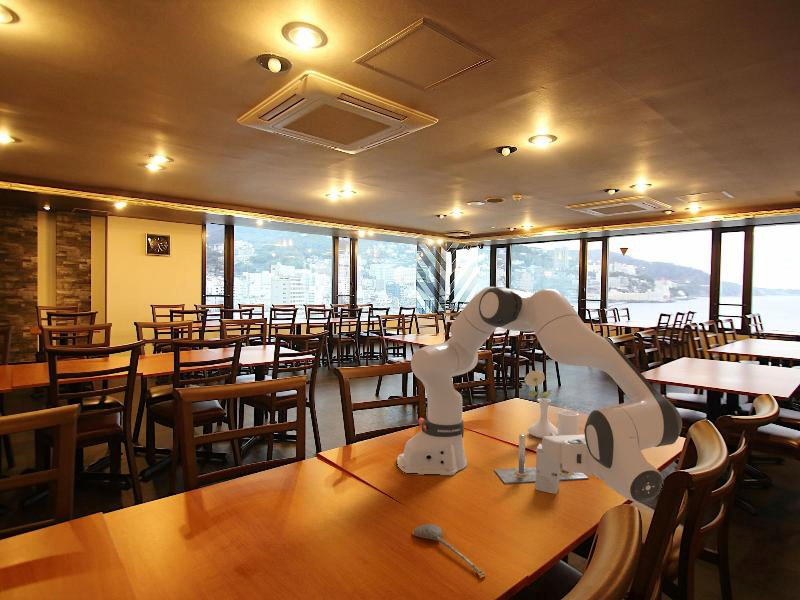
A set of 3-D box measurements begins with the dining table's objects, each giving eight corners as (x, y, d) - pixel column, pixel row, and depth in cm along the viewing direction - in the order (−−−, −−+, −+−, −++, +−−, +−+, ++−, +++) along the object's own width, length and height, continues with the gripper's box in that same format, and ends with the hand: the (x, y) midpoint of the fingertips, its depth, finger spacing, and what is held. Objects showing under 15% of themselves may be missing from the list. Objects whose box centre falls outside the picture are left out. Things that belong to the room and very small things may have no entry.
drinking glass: (574, 453, 153) (575, 409, 153) (580, 461, 147) (581, 416, 146) (554, 452, 154) (555, 409, 153) (559, 460, 147) (560, 415, 146)
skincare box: (534, 490, 127) (535, 447, 126) (537, 483, 131) (538, 442, 130) (557, 495, 124) (558, 452, 123) (560, 488, 128) (560, 446, 127)
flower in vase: (558, 432, 174) (559, 368, 173) (560, 442, 163) (562, 374, 162) (523, 429, 177) (524, 366, 176) (523, 439, 166) (524, 372, 165)
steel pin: (518, 476, 134) (519, 437, 133) (514, 472, 137) (515, 433, 136) (528, 476, 134) (528, 436, 134) (524, 472, 137) (524, 433, 137)
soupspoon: (429, 527, 110) (406, 537, 106) (428, 514, 110) (406, 523, 106) (494, 574, 91) (470, 588, 88) (493, 558, 91) (469, 571, 88)
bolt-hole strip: (504, 483, 130) (504, 482, 130) (494, 470, 139) (494, 469, 139) (588, 479, 134) (588, 477, 134) (573, 466, 143) (573, 465, 143)
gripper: (643, 439, 102) (608, 420, 116) (558, 443, 100) (532, 424, 113) (643, 466, 102) (607, 444, 116) (558, 471, 100) (532, 448, 114)
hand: (570, 434), depth 115 cm, fingers open, 8 cm apart
